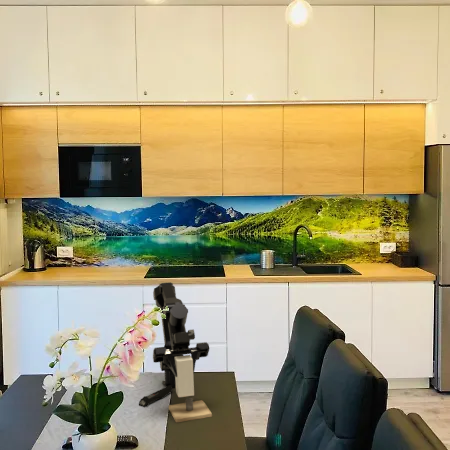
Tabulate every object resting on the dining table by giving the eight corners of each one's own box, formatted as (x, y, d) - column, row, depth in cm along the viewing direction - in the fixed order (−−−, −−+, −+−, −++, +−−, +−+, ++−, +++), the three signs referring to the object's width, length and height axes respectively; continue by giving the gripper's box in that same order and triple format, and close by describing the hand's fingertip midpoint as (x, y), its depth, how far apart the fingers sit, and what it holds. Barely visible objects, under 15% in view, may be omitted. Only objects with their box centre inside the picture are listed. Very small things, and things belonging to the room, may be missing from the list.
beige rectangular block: (175, 391, 183) (174, 356, 182) (191, 389, 184) (189, 354, 183) (178, 397, 178) (177, 361, 177) (194, 395, 179) (192, 359, 178)
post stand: (168, 408, 186) (168, 395, 186) (202, 402, 190) (201, 390, 189) (176, 422, 175) (175, 408, 174) (211, 416, 178) (211, 403, 178)
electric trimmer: (175, 394, 200) (174, 385, 200) (145, 408, 187) (145, 399, 187) (167, 392, 202) (167, 383, 202) (137, 406, 190) (137, 397, 189)
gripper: (152, 324, 181) (158, 367, 171) (207, 319, 185) (215, 360, 175) (150, 341, 189) (156, 383, 179) (203, 335, 193) (211, 376, 184)
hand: (184, 375), depth 179 cm, fingers closed on beige rectangular block, 5 cm apart
